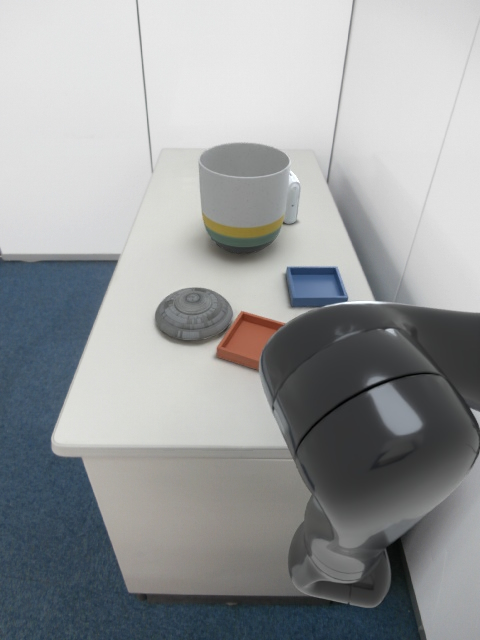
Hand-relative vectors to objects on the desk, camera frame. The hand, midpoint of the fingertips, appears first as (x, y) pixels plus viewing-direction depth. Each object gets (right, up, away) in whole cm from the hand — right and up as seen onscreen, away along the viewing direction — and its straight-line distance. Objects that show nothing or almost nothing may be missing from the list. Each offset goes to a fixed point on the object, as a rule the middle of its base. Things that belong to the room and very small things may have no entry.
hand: (350, 351), depth 72 cm
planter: (-17, +23, +37) cm, 47 cm away
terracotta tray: (-15, 0, +11) cm, 18 cm away
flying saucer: (-27, +5, +16) cm, 32 cm away
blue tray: (-2, +11, +24) cm, 27 cm away
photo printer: (-6, +33, +49) cm, 60 cm away
